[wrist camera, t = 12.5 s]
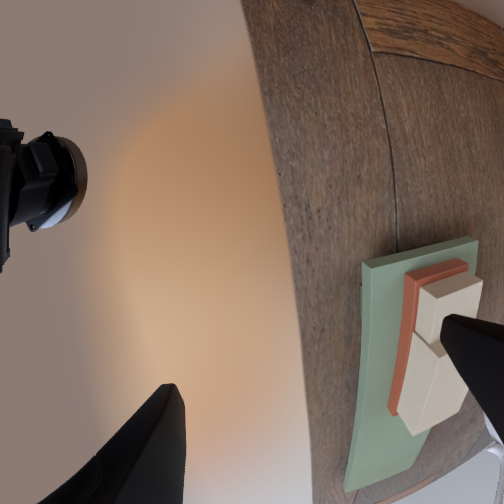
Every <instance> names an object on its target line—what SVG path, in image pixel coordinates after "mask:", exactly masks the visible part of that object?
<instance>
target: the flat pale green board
mask: <svg viewBox="0 0 504 504" xmlns="http://www.w3.org/2000/svg"><path fill="white" fill-rule="evenodd" d="M477 253H478V240H477V239H474V238H472V237H469V236H464V237H461V238H457V239H453V240H449V241H445V242H441V243H437V244H433V245H429V246H425V247H421V248H417V249H413V250H409V251H404V252H400V253H396V254H392V255H387V256H383V257H379V258H374V259H370V260H365V261H362V284H360V318H361V319H362V335H361V356H360V371H359V383H358V394H357V403H356V412H355V420H354V427H353V434H352V441H351V447H350V453H349V458H348V463H346V468H345V479H344V483H343V488H344V491H345V493H348V492H351V491H354V490H357V489H360V488H362V487H365V486H368V485H371V484H373V483H376V482H378V481H381V480H383V479H386V478H388V477H391V476H393V475H395V474H398V473H400V472H402V471H404V470H406V469H408V468H411V466H412V465H413V463H414V461H415V459H416V457H417V456H418V454H419V452H420V450H421V448H422V446H423V444H424V442H425V440H426V438H427V436H428V434H429V432H430V430H431V428H429V429H427V430H425V431H423V432H421V433H419V434H417V435H415V436H412V435H411V433H410V431H409V430H408V428H407V427H406V425H405V423H404V422H403V420H402V419H401V417H400V416H399V415H397V416H395V417H393V416H392V415H391V413H390V411H389V410H388V408H387V405H388V400H389V396H390V391H391V386H392V381H393V375H394V370H395V364H396V357H397V351H398V344H399V336H400V327H401V318H402V307H403V293H404V274H405V273H407V272H410V271H414V270H417V269H421V268H425V267H428V266H431V265H435V264H438V263H442V262H445V261H448V260H451V259H455V258H459V259H461V260H463V261H465V262H467V263H469V268H468V272H469V273H471V274H472V275H474V276H475V272H476V263H477Z"/></svg>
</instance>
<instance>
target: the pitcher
mask: <svg viewBox="0 0 504 504" xmlns="http://www.w3.org/2000/svg"><path fill="white" fill-rule="evenodd" d="M484 418H485V422H486V426H487V428H488V431H489V433H490V435H491V436H492V438H493V439H494V441H495V442H496V443H495V444H493V445H491V446H489V447H488V448H487V449H486V451H488V452H492V453H495V454H496V455H498V457H499V459H500V465H501V467H500V476H499V482H498V487H497V491H496V496H495V501H494V504H502V500H503V493H504V445H503V443H502V442H501V440H500V438H499V436H498V434H497V433H496V431H495V429H494V428H493V426H492V424H491V423H490V421H489V419H488V418H487V416H486V414H485V413H484Z"/></svg>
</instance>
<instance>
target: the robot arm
mask: <svg viewBox="0 0 504 504" xmlns="http://www.w3.org/2000/svg"><path fill="white" fill-rule="evenodd" d="M48 135H49V138H48V139H47V136H48ZM23 136H24V132H19V131H18V128H12V125H11V121H10V120H7V119H0V273H1V272H2V266H3V265H4V263H5V261H6V260H7V259H8V258H9V257H10V249H9V227H11V226H14V225H17V224H19V223H22V222H26V224H27V226H28V228H29V230H30V231H31V232H35V231H37V230H38V229H39V228H40V227H41V226H42V225H43V224H44V223H45V222H47V221H48V220H49V219H50V218H51V217H52V216H53V215H54V214H55V213H57V212H58V211H59V210H60V209H61V208H62V207H64V206H65V205H66V204H67V203H68V202H69V201H71V200H72V199H73V198H74V197H76V196H77V194H78V187H77V185H76V183H75V181H74V179H73V177H72V175H71V173H70V167H69V165H68V163H67V160H66V158H65V156H64V154H63V152H62V149H61V147H60V145H59V144H57V142H56V140H55V137H54V135H53V133H52V132H51V131H46V132H45V133H44V134H43V135H42V136H40V137H39V138H38V139H37V140H36V141H35V142H29V143H28V144H21V140H23ZM71 189H73V191H74V192H73V194H72V193H71ZM33 225H34V228H33ZM440 342H441V344H442V346H443V347H444V349H445V351H446V352H447V354H448V356H449V358H450V359H451V361H452V363H453V365H454V366H455V368H456V370H457V372H458V373H459V375H460V376H461V378H462V379H463V381H464V382H465V384H466V385H467V387H468V388H469V390H470V391H471V393H472V394H473V396H474V397H475V399H476V400H477V402H478V403H479V405H480V406H481V408H482V410H483V411H484V413H485V414H486V416H487V418H488V419H489V421H490V423H491V424H492V426H493V428H494V429H495V431H496V433H497V434H498V436H499V438H500V440H501V442H502V443H503V445H504V325H501V324H497V323H492V322H488V321H484V320H479V319H475V318H471V317H467V316H462V315H458V314H450V315H448V316H445V317H444V319H443V321H442V327H441V332H440ZM185 459H186V427H185V405H184V401H183V399H182V397H181V395H180V393H179V390H178V388H177V386H176V385H175V384H173V383H170V384H162V385H161V386H160V387H159V388H158V389H157V390H156V391H155V392H154V393H153V394H152V395H151V396H150V397H149V398H148V400H147V401H146V402H145V403H144V404H143V405H142V406H141V407H140V408H139V409H138V410H137V411H136V412H135V414H134V415H133V416H132V417H131V418H130V419H129V420H128V421H127V422H126V423H125V424H124V425H123V426H122V427H121V428H120V429H119V430H118V431H117V433H115V435H114V436H113V437H112V438H111V439H110V440H109V441H108V442H107V443H106V444H105V445H104V446H103V447H102V448H101V449H100V450H99V451H98V452H97V453H96V456H93V457H92V458H91V459H90V461H88V462H87V463H86V464H85V465H84V466H83V467H82V468H81V469H80V470H79V471H78V472H77V473H76V474H75V475H73V476H72V477H71V478H70V479H69V480H67V481H66V482H65V483H64V484H63V485H61V486H60V487H59V488H58V489H56V490H55V491H54V492H52V493H51V494H50V495H48V496H47V497H46V498H44V499H43V500H42V501H40V502H39V503H37V504H183V487H184V474H185V461H186V460H185Z"/></svg>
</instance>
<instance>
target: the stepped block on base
mask: <svg viewBox="0 0 504 504" xmlns="http://www.w3.org/2000/svg"><path fill="white" fill-rule="evenodd" d="M468 268H469V263H467V262H465V261H463V260H461V259H459V258H455V259H451V260H448V261H445V262H442V263H438V264H435V265H431V266H428V267H425V268H421V269H417V270H414V271H410V272H407V273H405V274H404V293H403V307H402V318H401V327H400V336H399V344H398V351H397V357H396V364H395V370H394V375H393V381H392V386H391V391H390V396H389V400H388V405H387V408H388V410H389V411H390V413H391V415H392V416H393V417H395V416H397V415H399V416H400V417H401V419H402V420H403V422H404V423H405V425H406V427H407V428H408V430H409V431H410V433H411V435H412V436H415V435H417V434H419V433H421V432H423V431H425V430H427V429H429V428H431V427H433V426H435V425H436V424H438V423H440V422H442V421H444V420H445V419H447V418H449V417H451V416H452V415H454V414H456V413H457V412H459V409H460V407H461V405H462V403H463V401H464V398H465V396H466V394H467V392H468V389H469V388H468V387H467V385H466V384H465V382H464V381H463V379H462V378H461V376H460V375H459V373H458V372H457V370H456V368H455V366H454V365H453V363H452V361H451V359H450V358H449V356H448V354H447V352H446V351H445V349H444V347H443V346H442V344H441V342H440V332H441V327H442V321H443V319H444V317H445V316H448V315H450V314H458V315H462V316H467V317H471V318H475V319H476V316H477V311H478V307H479V302H480V296H481V291H482V285H483V280H481V279H480V278H478V277H476V276H474V275H472V274H471V273H469V272H468Z"/></svg>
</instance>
